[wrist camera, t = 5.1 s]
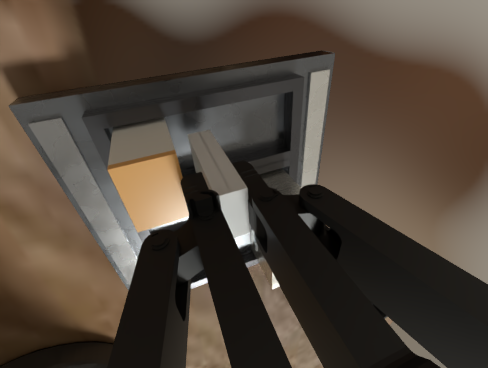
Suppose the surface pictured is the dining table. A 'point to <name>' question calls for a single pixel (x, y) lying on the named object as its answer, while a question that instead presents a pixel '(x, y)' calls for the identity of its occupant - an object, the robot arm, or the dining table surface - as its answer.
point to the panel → (184, 137)
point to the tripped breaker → (147, 173)
